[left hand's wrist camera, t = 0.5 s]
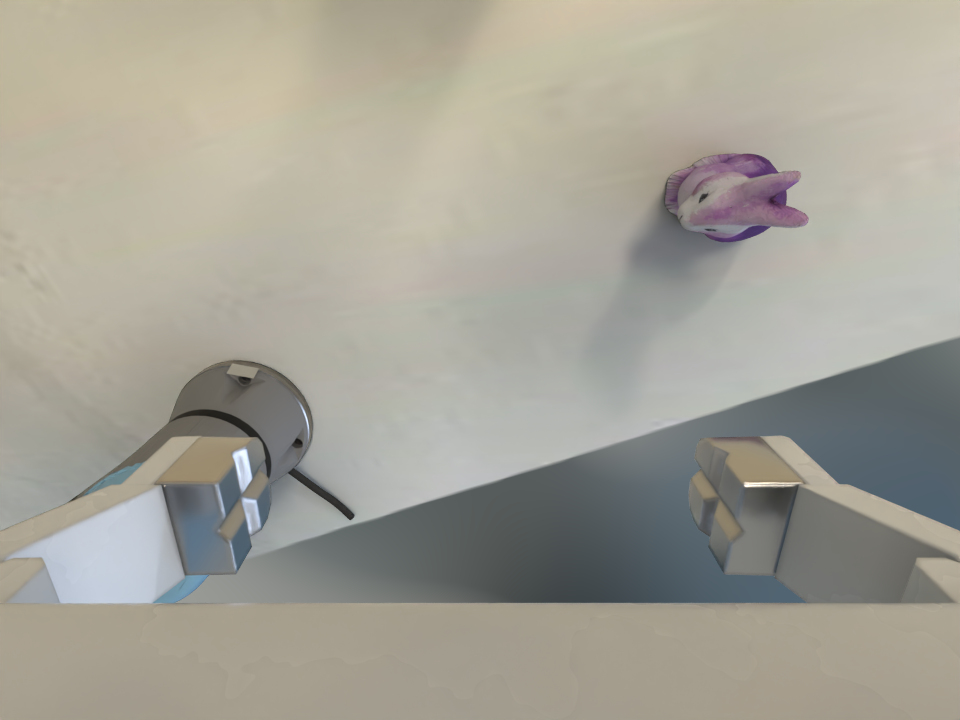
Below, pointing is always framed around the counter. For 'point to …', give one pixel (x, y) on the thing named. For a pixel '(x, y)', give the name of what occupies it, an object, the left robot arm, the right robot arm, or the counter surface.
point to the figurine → (732, 197)
